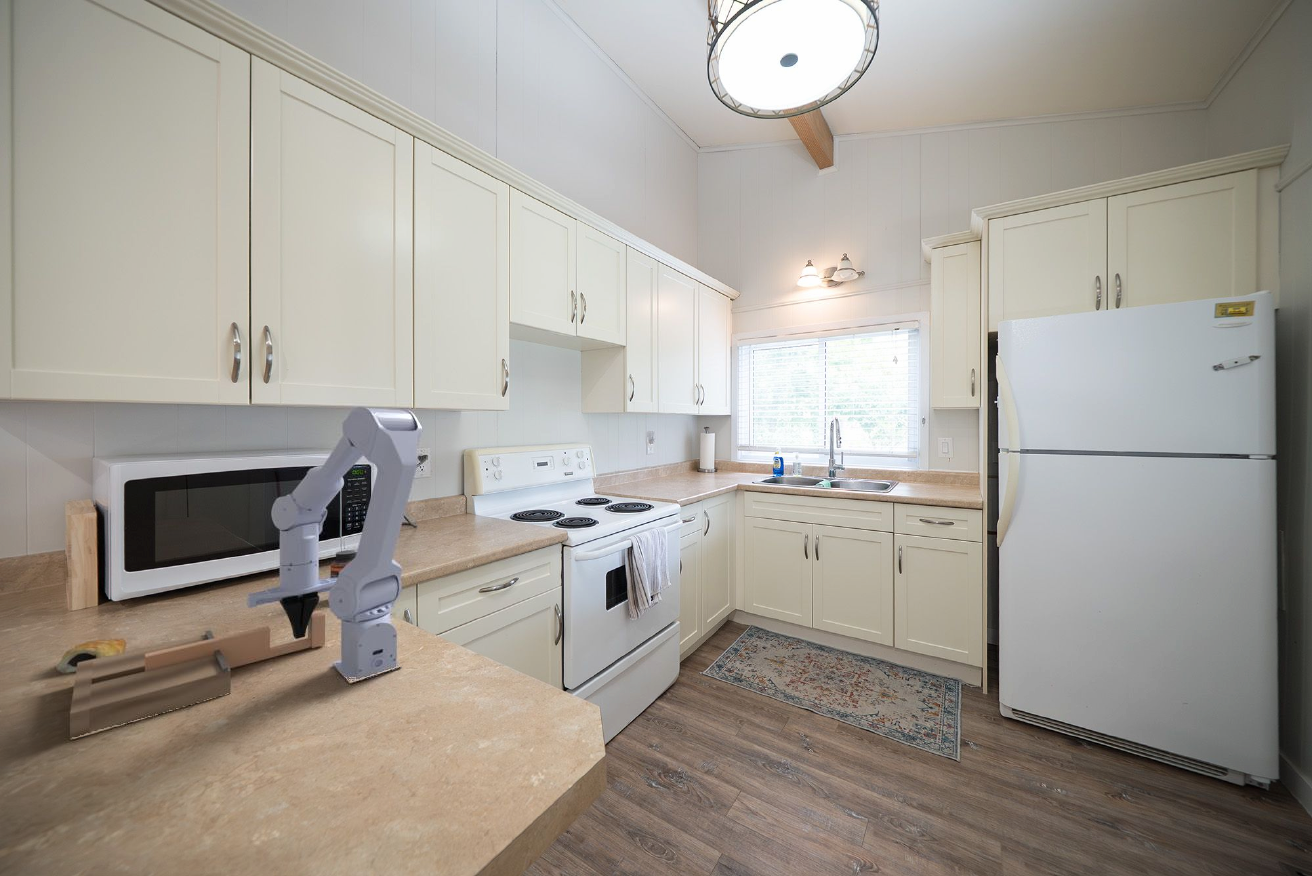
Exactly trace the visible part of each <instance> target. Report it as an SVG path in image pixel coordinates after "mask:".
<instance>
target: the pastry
mask: <svg viewBox="0 0 1312 876" xmlns="http://www.w3.org/2000/svg"><path fill="white" fill-rule="evenodd" d="M126 649H127V641H126V640H125V639H124V638H109V637H108V638H103V639H101V638H100V639H96V640H92V641H85V642H83V643H81V644H78V645H76V646H74V647H73V648H71V649H69V650H68V651H66V652H65V653H64V654H63V656H62V658H61V660H60V662H59V663H58V664H57V665H56V666H55V667H56V670H57V671H58V672H60V673H62V674H65V673H66V674H69V673H76V671H77V664H78V662H83V661H87V660H92V659H97V658H101V657H106V656H110V655H115V654H119V653H124V652H126Z"/></svg>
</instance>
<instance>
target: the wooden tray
mask: <svg viewBox="0 0 1312 876" xmlns="http://www.w3.org/2000/svg"><path fill="white" fill-rule="evenodd" d="M213 638H216V637H215V636H214V634H213V632H212V630H211V629H209V630H205V632H204V634H202V635H196V636H193V637H189V638H183V639H180V640H175V641H169V642H165V643H160V644H156V645H151V646H147V647H143V648H138V649H134V650H129V651H124V653H119V654H115V655H110V656H106V657H101V658H97V659H92V660H87V661H83V662H78V664H77V671H76V672H75V677H74V678H75V679H74V683H73V684H74V685H73V692H72V699H71V704H70V711H69V712H70V713H69V739H70V738H72V737H78V736H80V735H84V734H86V733H91V732H92V731H97V730H99V729H104V728H107V727H112V726H114V725H121V724H123V723H128V722H130V721H134V720H137V719H141V718H145V717H148V716H153V715H155V714H160V715H162V714H161V713H163V712H167V711H169V710H174V709H176V708H181V707H183V706H188V705H191V704H194V705H196V704H195V703H197V702H201V703H203V702H202V701H204V700H207V699H210V698H214V697H218V696H220V695H225V694H227V693H232V690H231V685H232V684H231V682H232V681H231V678H232V674H231V672H232V671H231V668H229V666H228V664H227V662H226V660H225V658H224V656H223V654H222V653H221V651H220V650H215V651H214V655H210V656H206V657H202V658H198V659H194V660H189V661H185V662H181V663H177V664H173V665H169V666H165V667H161V668H157V669H153V670H149V671H145V654H147V653H151V652H156V651H160V650H164V649H169V648H173V647H178V646H182V645H187V644H191V643H195V642H200V641H204V640H209V639H213ZM225 696H226V695H225ZM218 698H219V697H218ZM191 706H192V705H191ZM188 707H189V706H188ZM181 709H182V708H181ZM174 711H175V710H174ZM167 713H168V712H167Z"/></svg>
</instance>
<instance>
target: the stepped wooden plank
mask: <svg viewBox="0 0 1312 876" xmlns="http://www.w3.org/2000/svg"><path fill="white" fill-rule="evenodd" d="M325 645H326V614H325V613H324V612H323V610H317V611H313V613H312V615H311V617H310V620H309V622H308V626H307V638H306V637H305V638H303V639H302V638H301V639H299V640H298V639H297V640H295V641H291V642H287V643H286V642H285V643H284V644H278V645H276V646H272V647H271V628H270V626H269V625H267V626H263V627H258V628H254V629H251V630H250V629H249V630H245V631H241V632H236V633H232V634H228V635H227V634H226V635H224V636H223V635H222V636H219V637H215V638H213V639H209V640H204V641H200V642H195V643H191V644H187V645H182V646H178V647H173V648H169V649H164V650H160V651H156V652H151V653H147V654H145V671H149V670H153V669H157V668H161V667H165V666H169V665H173V664H177V663H181V662H185V661H189V660H194V659H198V658H202V657H206V656H210V655H214V651H215V650H220V651H221V653H222V654H223V656H224V658H225V660H226V662H227V664H228V666H229V668H230V669H232V668H233V669H234V668H236V667H240V666H244V665H247V664H251V663H255V662H259V661H263V660H267V659H270V658H274V657H278V656H279V657H280V656H282V655H286V654H289V653H293V652H297V651H301V650H304V649H308V648H312V649H315V648H317V647H321V646H325Z"/></svg>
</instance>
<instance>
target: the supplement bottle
mask: <svg viewBox="0 0 1312 876" xmlns="http://www.w3.org/2000/svg"><path fill="white" fill-rule="evenodd" d="M356 554H357V551H356V550H353V549H349V550H341V551H340V550H339V551H337V552H336V553H335V559H334V561H333V562H332V563H331V564H330V577H329V579H330V578H338V575H339V572H340V571H341V570H342V569H343V568H344V567H345V566H346V565H348V564H349V563H350V562H351V561H352V560H353V559H354V558H355V557H356Z"/></svg>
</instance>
